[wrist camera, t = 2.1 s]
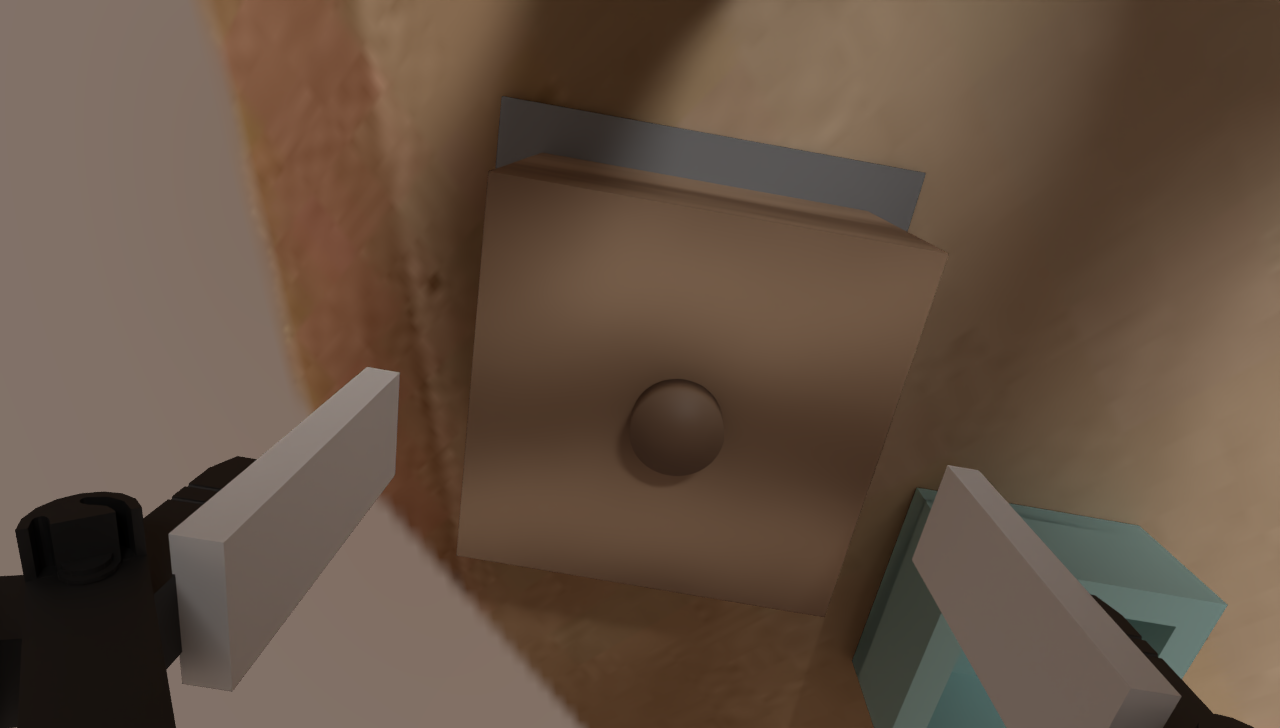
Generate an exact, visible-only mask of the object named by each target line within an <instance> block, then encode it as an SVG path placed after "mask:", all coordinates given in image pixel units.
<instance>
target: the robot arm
mask: <svg viewBox="0 0 1280 728" xmlns="http://www.w3.org/2000/svg"><path fill="white" fill-rule="evenodd" d="M399 379H400V372H394V371H388V370H382V369H376V368H370V367H366V368H365V369H364V370H363V371H362V372H360V373H359V374H358V375H357V376H356V377H354V378H353V379H352V380H351V381H350V382H349V383H347V384H346V385H345V386H344V387H343V388H341V389H340V390H339V391H338V392H337V393H335V394H334V395H333V396H332V397H331V398H330V399H328V400H327V401H326V402H325V403H324V404H322V405H321V406H320V407H319V408H318V409H316V410H315V411H314V412H313V413H312V414H310V415H309V416H308V417H307V418H306V419H305V420H303V421H302V422H301V423H300V424H299V425H297V426H296V427H295V428H294V429H293V430H291V431H290V432H289V433H288V434H287V435H286V436H284V437H283V438H282V439H281V440H280V441H278V442H277V443H276V444H275V445H274V446H273V447H271V448H270V449H269V450H268V451H266V452H265V453H264V454H263V455H262V456H261V457H259V458H258V459H251V458H245V457H239V456H237V457H235V458H232V459H230V460H227V461H225V462H222V463H220V464H218V465H215V466H213V467H210V468H208V469H207V470H206V471H204V472H203V473H202V474H201V475H199V476H198V477H197V478H195V479H194V480H193V481H191V482H190V483H189V486H188V487H184V488H182V489H181V490H180V491H179V492H177V493H176V494H175V495H173V497H172V499H171V500H167V501H165V502H164V503H163V504H162V505H160V506H159V507H158V508H156V509H155V510H154V511H152V512H151V513H150V514H149V515H147V516H146V517H145V518H143V515H142V507H141V505H140V504H139V503H138V501H137V500H136V499H135V498H132V497H130V496H127V495H125V494H122V493H112V492H94V493H82V494H77V495H73V496H69V497H64V498H61V499H57V500H54V501H52V502H50V503H47V504H45V505H42V506H40V507H38V508H36V509H34V510H33V511H32V512H30V513H29V514H28V515H26V516H25V517H24V518H22V519H21V521H20V523H19V524H18V526H17V528H16V530H15V532H16V537H17V543H18V548H19V553H20V559H21V564H22V569H23V575H17V576H0V728H14V727H17V728H176V726H175V720H174V714H173V708H172V702H171V696H170V690H169V684H168V678H167V672H166V669H167V668H168V667H169V666H170V665H171V664H172V663H173V661H174V660H175V659H176V658H177V657H178V656H179V655H180V663H181V674H182V684H187V685H193V686H200V687H206V688H213V689H220V690H226V691H233V690H234V689H235V687H236V686H237V685H238V683H239V682H240V681H241V679H242V678H243V677H244V675H245V674H246V673H247V671H248V670H249V669H250V667H251V666H252V665H253V663H254V662H255V661H256V659H257V658H258V657H259V655H260V654H261V653H262V651H263V650H264V649H265V647H266V646H267V645H268V643H269V642H270V641H271V639H272V638H273V637H274V635H275V634H276V633H277V631H278V630H279V629H280V627H281V626H282V625H283V623H284V622H285V621H286V619H287V618H288V617H289V615H290V614H291V612H292V611H293V610H294V609H295V607H296V606H297V605H298V603H299V602H300V601H301V599H302V598H303V596H304V595H305V594H306V593H307V591H308V590H309V589H310V587H311V586H312V585H313V583H314V582H315V581H316V579H317V578H318V577H319V575H320V574H321V573H322V571H323V570H324V569H325V567H326V566H327V565H328V563H329V562H330V561H331V559H332V558H333V557H334V555H335V554H336V553H337V551H338V550H339V549H340V547H341V546H342V545H343V543H344V542H345V541H346V539H347V538H348V537H349V536H350V534H351V533H352V532H353V530H354V529H355V527H356V526H357V525H358V524H359V522H360V521H361V519H362V518H363V517H364V516H365V514H366V513H367V512H368V510H369V509H370V507H371V506H372V505H373V504H374V502H375V501H376V500H377V498H378V497H379V496H380V494H381V493H382V492H383V490H384V489H385V488H386V486H387V485H388V484H389V482H390V481H391V480H392V478H393V477H394V476H395V465H396V443H397V422H398V400H399ZM912 561H913V563H914V565H915V566H916V568H917V570H918V572H919V573H920V575H921V577H922V579H923V581H924V582H925V584H926V586H927V588H928V589H929V591H930V593H931V595H932V597H933V598H934V600H935V602H936V604H937V605H938V607H939V609H940V611H941V613H942V614H943V616H944V618H945V620H946V621H947V623H948V625H949V627H950V628H951V630H952V632H953V634H954V636H955V637H956V639H957V641H958V643H959V644H960V646H961V648H962V650H963V652H964V653H965V655H966V657H967V659H968V660H969V662H970V664H971V666H972V667H973V669H974V671H975V673H976V675H977V676H978V678H979V680H980V682H981V683H982V685H983V687H984V689H985V691H986V692H987V694H988V696H989V698H990V699H991V701H992V703H993V705H994V707H995V708H996V710H997V712H998V714H999V715H1000V717H1001V719H1002V721H1003V722H1004V724H1005V726H1006V728H1254V727H1252V726H1250V725H1247V724H1245V723H1243V722H1240V721H1238V720H1236V719H1234V718H1230V717H1226V716H1222V715H1218V714H1213V713H1212V712H1211V711H1210V710H1209V709H1208V707H1207V706H1206V705H1205V704H1204V703H1203V702H1202V701H1201V700H1200V699H1199V698H1198V697H1197V696H1196V694H1195V693H1194V692H1193V691H1192V690H1191V689H1190V688H1189V687H1188V686H1187V685H1186V684H1185V683H1184V681H1183V680H1182V679H1181V678H1180V677H1179V676H1178V675H1177V674H1176V673H1175V672H1174V671H1173V670H1172V668H1171V667H1170V666H1169V665H1168V664H1167V663H1166V662H1165V661H1164V660H1163V659H1162V658H1158V653H1157V652H1156V651H1155V650H1154V649H1153V648H1152V647H1151V646H1150V645H1149V644H1148V643H1147V641H1145V640H1142V636H1141V635H1140V634H1139V633H1138V632H1137V631H1136V630H1135V628H1134V627H1133V626H1132V625H1131V624H1130V623H1129V622H1128V621H1127V620H1126V619H1125V618H1124V617H1123V615H1121V614H1120V613H1119V612H1117V611H1116V610H1114V609H1113V608H1112V607H1110V606H1109V605H1108V604H1106V603H1105V602H1104V601H1102V600H1101V599H1100V598H1098V597H1097V596H1096V595H1091V594H1089V593H1088V591H1087V590H1086V589H1085V588H1084V587H1083V586H1082V585H1081V584H1080V583H1079V581H1078V580H1077V579H1076V578H1075V577H1074V576H1073V575H1072V574H1071V573H1070V571H1069V570H1068V569H1067V568H1066V567H1065V566H1064V565H1063V564H1062V562H1061V561H1060V560H1059V559H1058V558H1057V557H1056V556H1055V555H1054V554H1053V552H1052V551H1051V550H1050V549H1049V548H1048V547H1047V546H1046V545H1045V544H1044V542H1043V541H1042V540H1041V539H1040V538H1039V537H1038V536H1037V535H1036V534H1035V532H1034V531H1033V530H1032V529H1031V528H1030V527H1029V526H1028V525H1027V523H1026V522H1025V521H1024V520H1023V519H1022V518H1021V517H1020V516H1019V515H1018V513H1017V512H1016V511H1015V510H1014V509H1013V508H1012V507H1011V506H1010V505H1009V503H1008V502H1007V501H1006V500H1005V499H1004V498H1003V497H1002V496H1001V495H1000V493H999V492H998V491H997V490H996V489H995V488H994V487H993V486H992V484H991V483H990V482H989V481H988V480H987V479H986V478H985V477H984V476H983V474H982V473H981V472H980V471H979V470H974V469H968V468H962V467H957V466H951V465H947V468H946V470H945V473H944V476H943V478H942V481H941V484H940V486H939V489H938V492H937V494H936V497H935V500H934V502H933V505H932V508H931V510H930V513H929V516H928V518H927V521H926V524H925V526H924V529H923V532H922V534H921V537H920V540H919V542H918V545H917V548H916V550H915V553H914V556H913V558H912Z"/></svg>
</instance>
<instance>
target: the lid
mask: <svg viewBox="0 0 1280 728" xmlns="http://www.w3.org/2000/svg"><path fill="white" fill-rule="evenodd" d="M948 256H949V254H948V253H946V252H945V251H943V250H941V249H939V248H937V247H935V246H933V245H931V244H929V243H927V242H926V241H924V240H922V239H920V238H918V237H916V236H914V235H912V234H910V233H908V232H907V231H905V230H903V229H901V228H899V227H897V226H895V225H893V224H891V223H889V222H888V221H886V220H884V219H882V218H880V217H878V216H876V215H874V214H872V213H870V212H869V211H865V210H859V209H854V208H848V207H843V206H837V205H831V204H826V203H820V202H815V201H809V200H804V199H798V198H793V197H787V196H782V195H776V194H770V193H765V192H759V191H754V190H748V189H743V188H737V187H732V186H726V185H720V184H715V183H709V182H704V181H698V180H693V179H687V178H682V177H676V176H670V175H665V174H659V173H654V172H648V171H643V170H637V169H632V168H626V167H621V166H615V165H609V164H604V163H598V162H593V161H587V160H582V159H576V158H571V157H565V156H559V155H554V154H548V153H543V152H542V153H539V154H537V155H534V156H531V157H528V158H525V159H522V160H519V161H517V162H514V163H511V164H508V165H505V166H502V167H499V168H496V169H494V170H491V171H488V182H487V194H486V206H485V218H484V230H483V242H482V254H481V266H480V278H479V290H478V302H477V314H476V326H475V338H474V350H473V362H472V374H471V386H470V398H469V410H468V422H467V434H466V446H465V458H464V470H463V482H462V494H461V506H460V518H459V530H458V542H457V554H456V556H462V557H468V558H474V559H480V560H486V561H492V562H498V563H504V564H510V565H516V566H522V567H527V568H533V569H539V570H545V571H551V572H557V573H563V574H569V575H575V576H581V577H587V578H593V579H599V580H605V581H611V582H617V583H623V584H629V585H635V586H641V587H647V588H653V589H659V590H665V591H671V592H677V593H683V594H689V595H695V596H701V597H707V598H713V599H719V600H725V601H731V602H737V603H743V604H749V605H755V606H761V607H766V608H772V609H778V610H784V611H790V612H796V613H802V614H808V615H814V616H820V617H825V615H826V612H827V609H828V606H829V603H830V600H831V597H832V594H833V592H834V589H835V586H836V583H837V580H838V577H839V574H840V571H841V568H842V565H843V562H844V559H845V557H846V554H847V551H848V548H849V545H850V542H851V539H852V536H853V533H854V530H855V527H856V524H857V521H858V519H859V516H860V513H861V510H862V507H863V504H864V501H865V498H866V495H867V492H868V489H869V486H870V484H871V481H872V478H873V475H874V472H875V469H876V466H877V463H878V460H879V457H880V454H881V451H882V449H883V446H884V443H885V440H886V437H887V434H888V431H889V428H890V425H891V422H892V419H893V416H894V413H895V411H896V408H897V405H898V402H899V399H900V396H901V393H902V390H903V387H904V384H905V381H906V378H907V376H908V373H909V370H910V367H911V364H912V361H913V358H914V355H915V352H916V349H917V346H918V343H919V341H920V338H921V335H922V332H923V329H924V326H925V323H926V320H927V317H928V314H929V311H930V308H931V305H932V303H933V300H934V297H935V294H936V291H937V288H938V285H939V282H940V279H941V276H942V273H943V270H944V268H945V265H946V262H947V259H948Z"/></svg>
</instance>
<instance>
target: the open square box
mask: <svg viewBox="0 0 1280 728" xmlns="http://www.w3.org/2000/svg"><path fill="white" fill-rule="evenodd" d="M937 492H938V491H935V490H929V489H923V488H916V491H915V494H914V496H913V499H912V502H911V504H910V507H909V510H908V512H907V515H906V518H905V520H904V523H903V526H902V528H901V531H900V534H899V536H898V539H897V542H896V544H895V547H894V550H893V553H892V555H891V558H890V561H889V563H888V566H887V569H886V571H885V574H884V577H883V579H882V582H881V585H880V587H879V590H878V593H877V595H876V598H875V601H874V603H873V606H872V609H871V612H870V614H869V617H868V620H867V622H866V625H865V628H864V630H863V633H862V636H861V638H860V641H859V644H858V646H857V649H856V652H855V654H854V657H853V660H852V662H853V665H854V668H855V671H856V674H857V677H858V680H859V683H860V686H861V690H862V693H863V696H864V699H865V702H866V705H867V708H868V711H869V714H870V717H871V720H872V723H873V726H874V728H1006V726H1005V724H1004V722H1003V721H1002V719H1001V717H1000V715H999V714H998V712H997V710H996V708H995V707H994V705H993V703H992V701H991V699H990V698H989V696H988V694H987V692H986V691H985V689H984V687H983V685H982V683H981V682H980V680H979V678H978V676H977V675H976V673H975V671H974V669H973V667H972V666H971V664H970V662H969V660H968V659H967V657H966V655H965V653H964V652H963V650H962V648H961V646H960V644H959V643H958V641H957V639H956V637H955V636H954V634H953V632H952V630H951V628H950V627H949V625H948V623H947V621H946V620H945V618H944V616H943V614H942V613H941V611H940V609H939V607H938V605H937V604H936V602H935V600H934V598H933V597H932V595H931V593H930V591H929V589H928V588H927V586H926V584H925V582H924V581H923V579H922V577H921V575H920V573H919V572H918V570H917V568H916V566H915V565H914V563H913V561H912V558H913V556H914V553H915V550H916V548H917V545H918V542H919V540H920V537H921V534H922V532H923V529H924V526H925V524H926V521H927V518H928V516H929V513H930V510H931V508H932V505H933V502H934V500H935V497H936V494H937ZM1009 505H1010V506H1011V507H1012V508H1013V509H1014V510H1015V511H1016V512H1017V513H1018V515H1019V516H1020V517H1021V518H1022V519H1023V520H1024V521H1025V522H1026V523H1027V525H1028V526H1029V527H1030V528H1031V529H1032V530H1033V531H1034V532H1035V534H1036V535H1037V536H1038V537H1039V538H1040V539H1041V540H1042V541H1043V542H1044V544H1045V545H1046V546H1047V547H1048V548H1049V549H1050V550H1051V551H1052V552H1053V554H1054V555H1055V556H1056V557H1057V558H1058V559H1059V560H1060V561H1061V562H1062V564H1063V565H1064V566H1065V567H1066V568H1067V569H1068V570H1069V571H1070V573H1071V574H1072V575H1073V576H1074V577H1075V578H1076V579H1077V580H1078V581H1079V583H1080V584H1081V585H1082V586H1083V587H1084V588H1085V589H1086V590H1087V591H1088V593H1089V594H1091V595H1096V596H1097V597H1098V598H1100V599H1101V600H1102V601H1104V602H1105V603H1106V604H1108V605H1109V606H1110V607H1112V608H1113V609H1114V610H1116V611H1117V612H1119V613H1120V614H1121V615H1123V617H1124V618H1125V619H1126V620H1127V621H1128V622H1129V623H1130V624H1131V625H1132V626H1133V627H1134V628H1135V630H1136V631H1137V632H1138V633H1139V634H1140V635H1141V636H1142V640H1145V641H1147V643H1148V644H1149V645H1150V646H1151V647H1152V648H1153V649H1154V650H1155V651H1156V652H1157V653H1158V658H1162V659H1163V660H1164V661H1165V662H1166V663H1167V664H1168V665H1169V666H1170V667H1171V668H1172V670H1173V671H1174V672H1175V673H1176V674H1177V675H1178V676H1179V677H1180V678H1181V679H1182V678H1183V677H1184V675H1185V673H1186V672H1187V670H1188V668H1189V667H1190V665H1191V664H1192V662H1193V660H1194V659H1195V657H1196V655H1197V654H1198V652H1199V651H1200V649H1201V647H1202V646H1203V644H1204V642H1205V641H1206V639H1207V638H1208V636H1209V634H1210V633H1211V631H1212V630H1213V628H1214V626H1215V625H1216V623H1217V621H1218V620H1219V618H1220V617H1221V615H1222V613H1223V612H1224V610H1225V608H1226V607H1227V604H1226V603H1225V602H1224V601H1223V600H1222V599H1221V598H1219V597H1218V596H1217V595H1216V594H1215V593H1214V592H1213V591H1212V590H1211V589H1209V588H1208V587H1207V586H1206V585H1205V584H1204V583H1203V582H1202V581H1200V580H1199V579H1198V578H1197V577H1196V576H1195V575H1194V574H1193V573H1192V572H1190V571H1189V570H1188V569H1187V568H1186V567H1185V566H1184V565H1183V564H1181V563H1180V562H1179V561H1178V560H1177V559H1176V558H1175V557H1174V556H1172V555H1171V554H1170V553H1169V552H1168V551H1167V550H1166V549H1165V548H1164V547H1162V546H1161V545H1160V544H1159V543H1158V542H1157V541H1156V540H1155V539H1153V538H1152V537H1151V536H1150V535H1149V534H1148V533H1147V532H1146V531H1144V530H1143V529H1142V528H1141V527H1140V526H1138V525H1132V524H1127V523H1121V522H1115V521H1109V520H1103V519H1098V518H1092V517H1086V516H1080V515H1074V514H1068V513H1063V512H1057V511H1051V510H1045V509H1039V508H1033V507H1028V506H1022V505H1016V504H1010V503H1009Z"/></svg>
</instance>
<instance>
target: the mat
mask: <svg viewBox="0 0 1280 728" xmlns="http://www.w3.org/2000/svg"><path fill="white" fill-rule="evenodd" d="M542 152H543V153H548V154H554V155H559V156H565V157H571V158H576V159H582V160H587V161H593V162H598V163H604V164H609V165H615V166H621V167H626V168H632V169H637V170H643V171H648V172H654V173H659V174H665V175H670V176H676V177H682V178H687V179H693V180H698V181H704V182H709V183H715V184H720V185H726V186H732V187H737V188H743V189H748V190H754V191H759V192H765V193H770V194H776V195H782V196H787V197H793V198H798V199H804V200H809V201H815V202H820V203H826V204H831V205H837V206H843V207H848V208H854V209H859V210H865V211H869V212H870V213H872V214H874V215H876V216H878V217H880V218H882V219H884V220H886V221H888V222H889V223H891V224H893V225H895V226H897V227H899V228H901V229H903V230H905V231H907V232H908V228H909V225H910V222H911V219H912V216H913V213H914V209H915V206H916V203H917V200H918V197H919V193H920V190H921V187H922V184H923V181H924V178H925V174H926V173H923V172H918V171H912V170H907V169H901V168H896V167H890V166H885V165H879V164H874V163H868V162H863V161H857V160H852V159H846V158H841V157H835V156H830V155H824V154H819V153H813V152H808V151H802V150H797V149H791V148H786V147H780V146H775V145H769V144H764V143H758V142H753V141H747V140H742V139H736V138H731V137H725V136H720V135H714V134H709V133H703V132H698V131H692V130H687V129H681V128H676V127H670V126H664V125H659V124H653V123H648V122H642V121H637V120H631V119H626V118H620V117H615V116H609V115H604V114H598V113H593V112H587V111H582V110H576V109H571V108H565V107H560V106H554V105H549V104H543V103H538V102H532V101H527V100H521V99H516V98H510V97H505V96H502V100H501V111H500V123H499V134H498V146H497V157H496V168H499V167H502V166H505V165H508V164H511V163H514V162H517V161H519V160H522V159H525V158H528V157H531V156H534V155H537V154H539V153H542Z"/></svg>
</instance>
